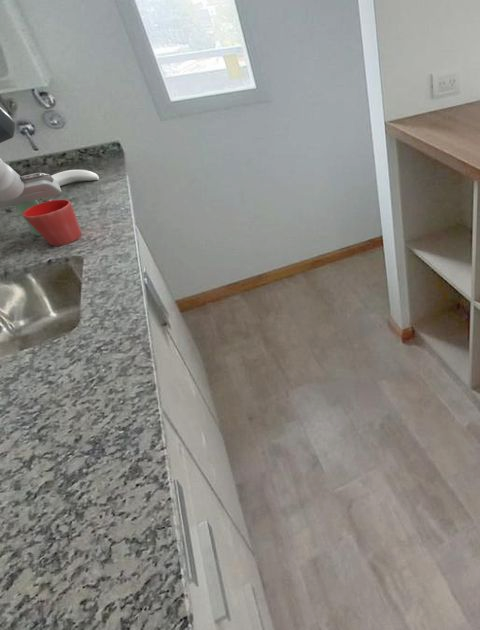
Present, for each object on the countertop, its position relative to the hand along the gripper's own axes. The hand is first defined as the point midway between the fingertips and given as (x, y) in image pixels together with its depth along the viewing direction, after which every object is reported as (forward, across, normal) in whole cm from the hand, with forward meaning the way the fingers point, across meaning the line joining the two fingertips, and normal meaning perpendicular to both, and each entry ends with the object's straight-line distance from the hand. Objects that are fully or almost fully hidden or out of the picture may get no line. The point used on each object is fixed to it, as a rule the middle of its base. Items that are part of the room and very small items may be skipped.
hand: (28, 205), depth 125 cm
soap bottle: (+5, 0, +6) cm, 8 cm away
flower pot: (-2, -6, +14) cm, 15 cm away
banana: (+34, -4, -22) cm, 41 cm away
